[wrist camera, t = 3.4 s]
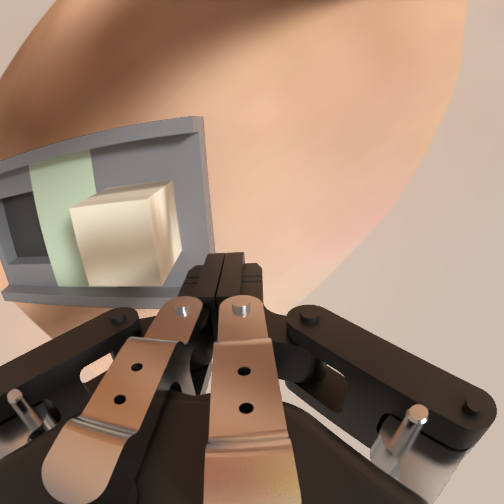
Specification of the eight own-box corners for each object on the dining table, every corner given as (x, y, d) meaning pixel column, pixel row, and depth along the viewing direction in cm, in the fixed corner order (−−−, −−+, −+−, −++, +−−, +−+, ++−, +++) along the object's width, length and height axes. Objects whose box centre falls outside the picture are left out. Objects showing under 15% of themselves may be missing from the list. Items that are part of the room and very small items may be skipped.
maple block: (107, 187, 19) (69, 208, 15) (172, 180, 19) (146, 199, 15) (119, 252, 21) (89, 286, 17) (182, 250, 21) (162, 286, 17)
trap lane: (-8, 165, 20) (-32, 174, 17) (203, 116, 19) (192, 116, 16) (22, 283, 26) (4, 300, 22) (218, 284, 25) (213, 309, 21)
